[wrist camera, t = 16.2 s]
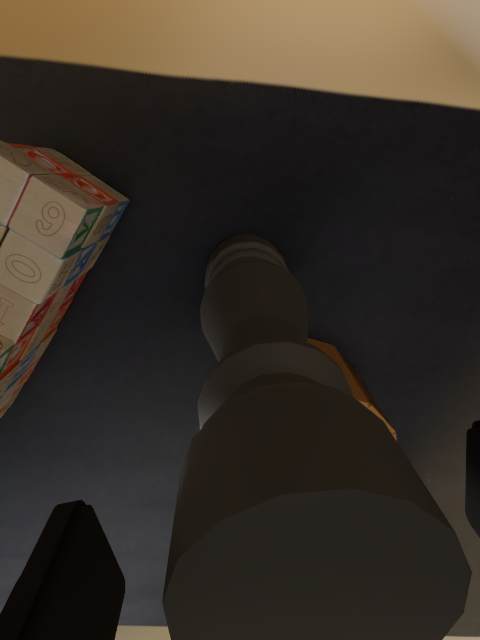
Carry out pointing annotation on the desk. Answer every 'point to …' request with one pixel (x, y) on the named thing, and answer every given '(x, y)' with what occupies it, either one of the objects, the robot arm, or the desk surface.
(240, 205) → the desk surface
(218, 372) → the candle holder
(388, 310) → the desk surface
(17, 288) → the stack of blocks
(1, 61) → the desk surface
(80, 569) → the robot arm
